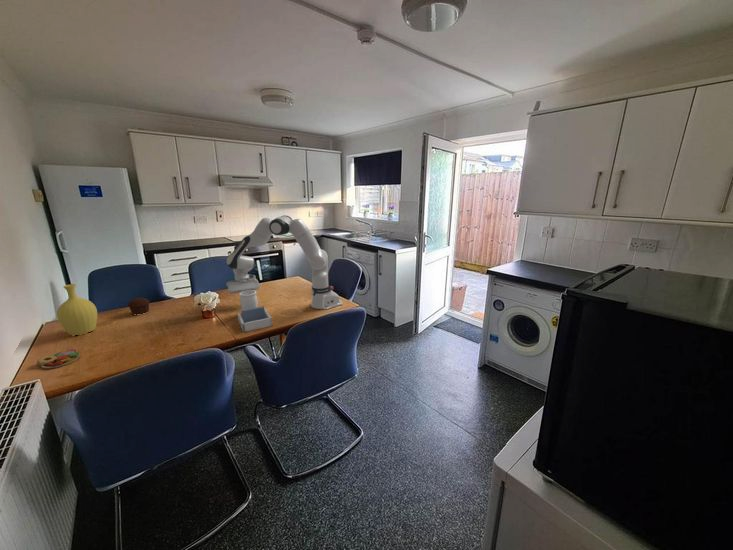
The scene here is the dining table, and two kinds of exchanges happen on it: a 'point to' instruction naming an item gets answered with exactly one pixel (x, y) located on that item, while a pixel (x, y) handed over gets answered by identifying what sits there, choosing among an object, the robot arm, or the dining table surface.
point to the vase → (77, 313)
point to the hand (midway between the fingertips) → (246, 296)
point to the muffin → (139, 306)
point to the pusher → (253, 314)
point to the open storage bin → (255, 323)
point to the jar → (248, 299)
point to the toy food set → (58, 359)
